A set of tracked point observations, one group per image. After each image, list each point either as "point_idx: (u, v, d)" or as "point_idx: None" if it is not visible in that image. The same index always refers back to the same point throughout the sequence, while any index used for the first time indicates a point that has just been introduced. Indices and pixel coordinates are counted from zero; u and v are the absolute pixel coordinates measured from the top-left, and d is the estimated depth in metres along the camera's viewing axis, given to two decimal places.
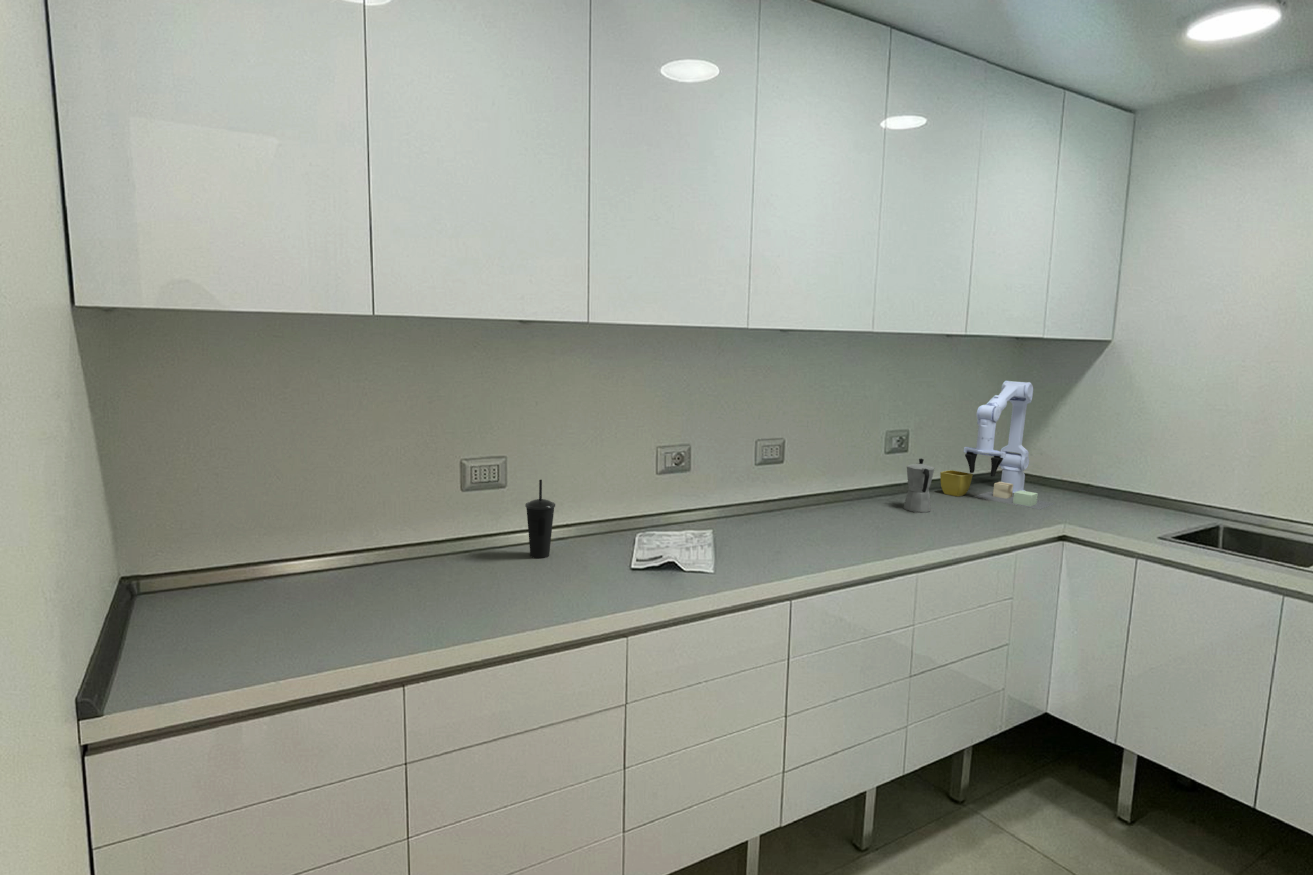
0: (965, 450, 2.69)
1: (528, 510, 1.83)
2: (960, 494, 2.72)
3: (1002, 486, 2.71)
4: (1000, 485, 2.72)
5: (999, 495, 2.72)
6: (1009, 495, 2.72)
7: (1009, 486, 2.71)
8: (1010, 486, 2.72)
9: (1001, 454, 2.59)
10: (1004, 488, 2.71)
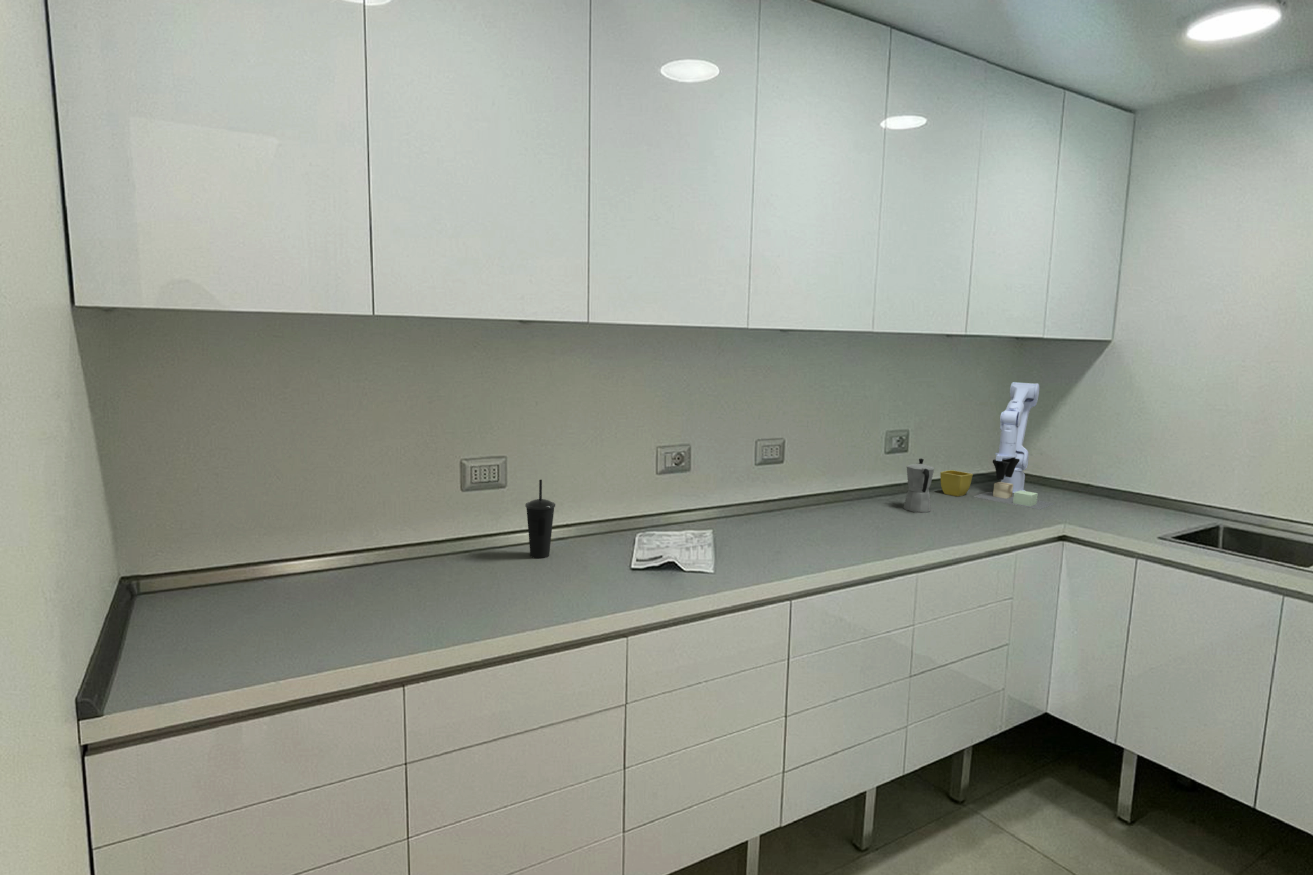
0: None
1: (528, 510, 1.83)
2: (960, 494, 2.72)
3: (1002, 486, 2.71)
4: (1000, 485, 2.72)
5: (999, 495, 2.72)
6: (1009, 495, 2.72)
7: (1009, 486, 2.71)
8: (1010, 486, 2.72)
9: None
10: (1004, 488, 2.71)
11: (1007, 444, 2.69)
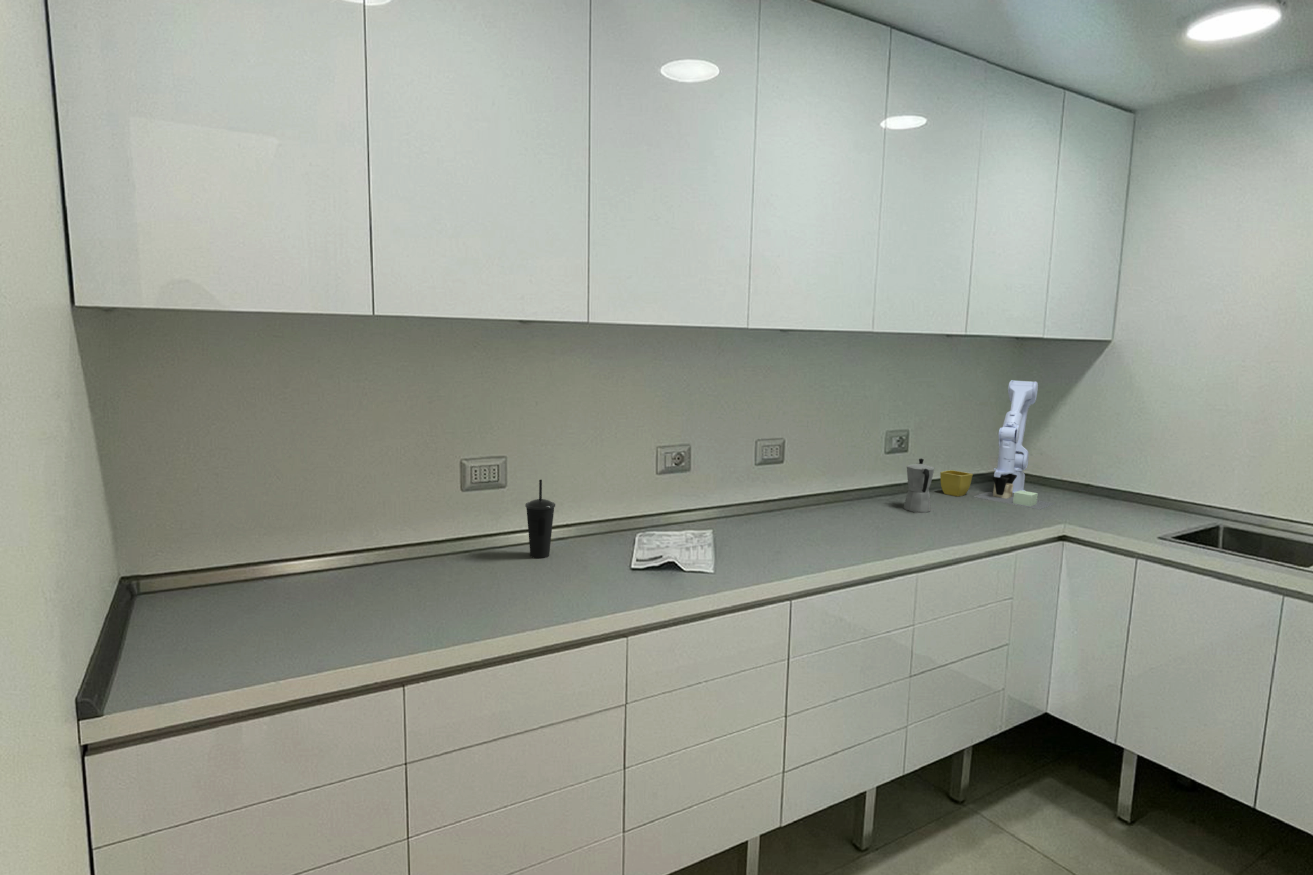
0: None
1: (528, 510, 1.83)
2: (960, 494, 2.72)
3: None
4: None
5: (999, 495, 2.72)
6: (1009, 495, 2.72)
7: (1009, 486, 2.71)
8: (1010, 486, 2.72)
9: None
10: None
11: (1005, 460, 2.69)
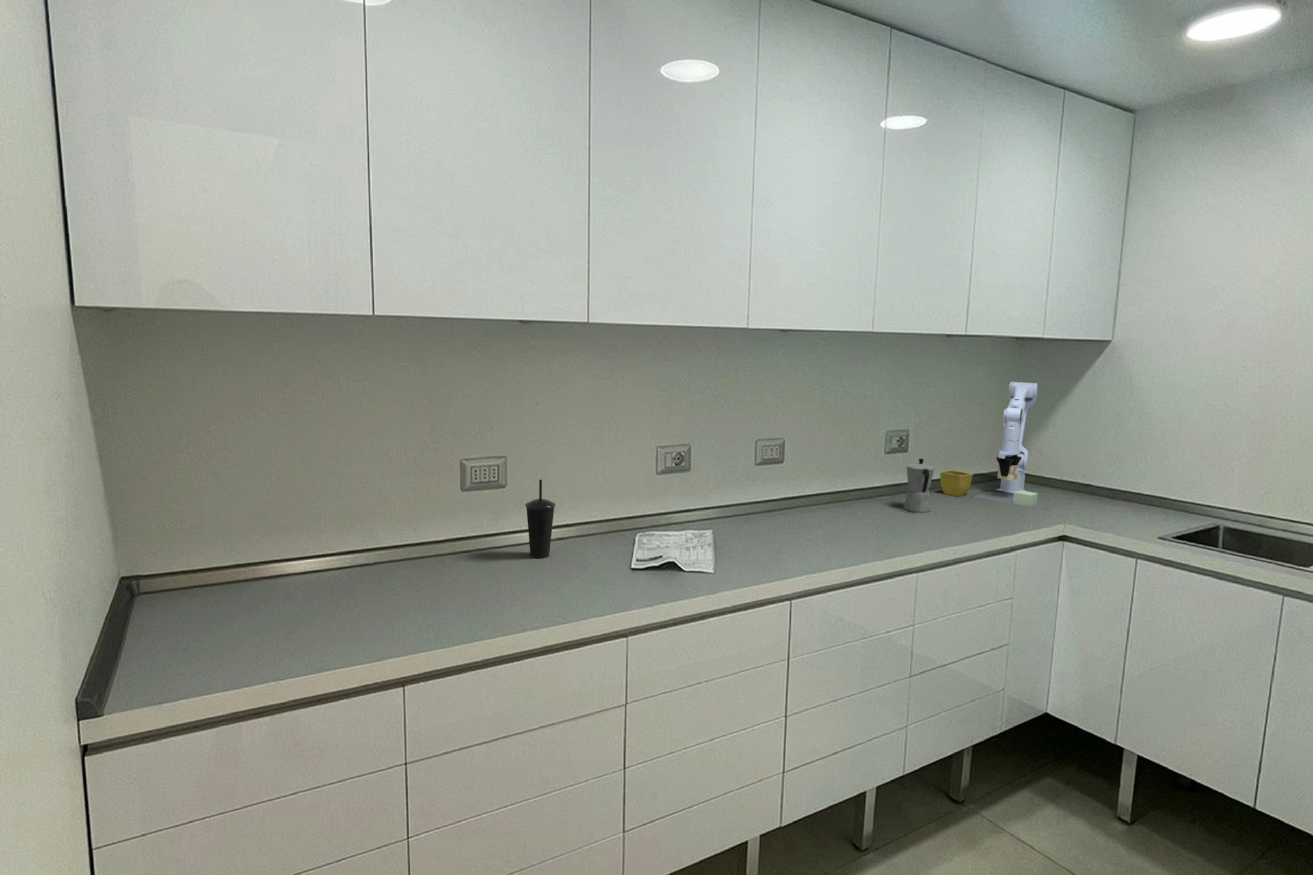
0: None
1: (528, 510, 1.83)
2: (960, 494, 2.72)
3: None
4: None
5: (1003, 477, 2.70)
6: (1014, 477, 2.70)
7: (1014, 468, 2.68)
8: (1015, 468, 2.69)
9: None
10: (1009, 469, 2.68)
11: (1010, 441, 2.67)
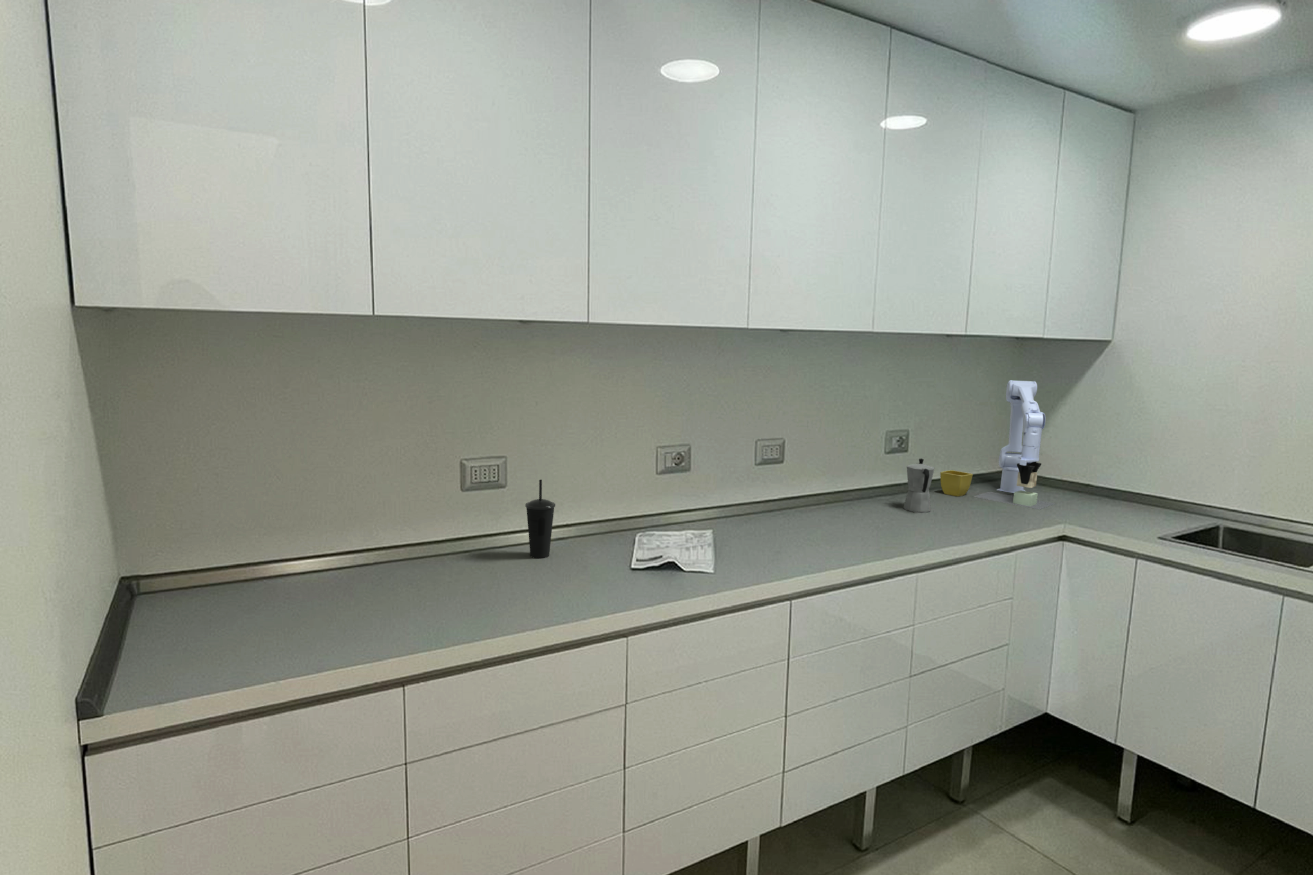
0: None
1: (528, 510, 1.83)
2: (960, 494, 2.72)
3: None
4: None
5: (1023, 484, 2.61)
6: (1033, 484, 2.61)
7: (1034, 475, 2.59)
8: (1034, 475, 2.60)
9: None
10: None
11: (1031, 447, 2.58)
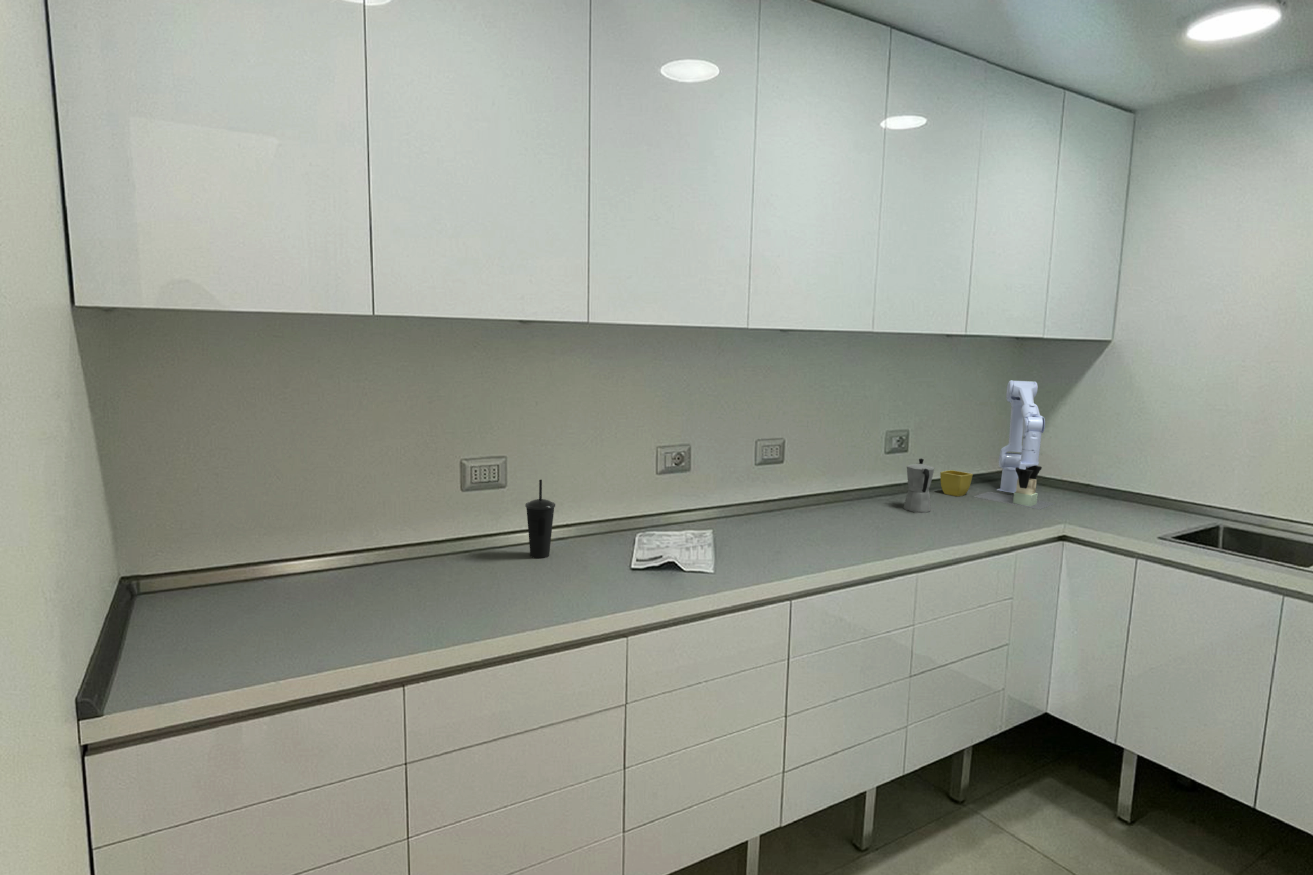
0: None
1: (528, 510, 1.83)
2: (960, 494, 2.72)
3: None
4: None
5: (1022, 491, 2.61)
6: (1033, 491, 2.61)
7: (1033, 482, 2.60)
8: (1034, 482, 2.61)
9: None
10: (1028, 483, 2.60)
11: (1030, 451, 2.58)
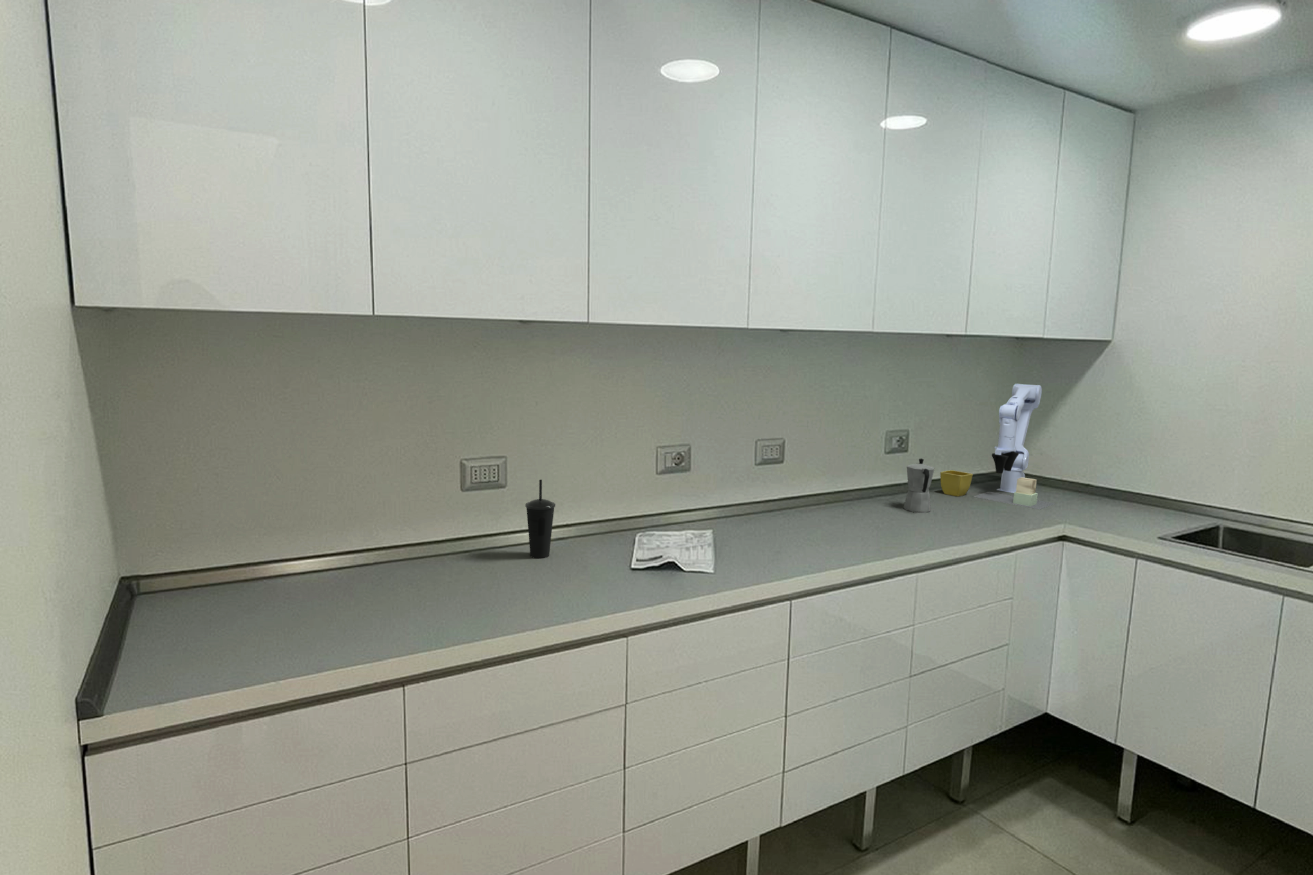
0: None
1: (528, 510, 1.83)
2: (960, 494, 2.72)
3: (1026, 482, 2.60)
4: (1024, 481, 2.61)
5: (1022, 491, 2.61)
6: (1033, 491, 2.61)
7: (1033, 482, 2.60)
8: (1034, 482, 2.61)
9: None
10: (1028, 483, 2.60)
11: (1006, 438, 2.70)
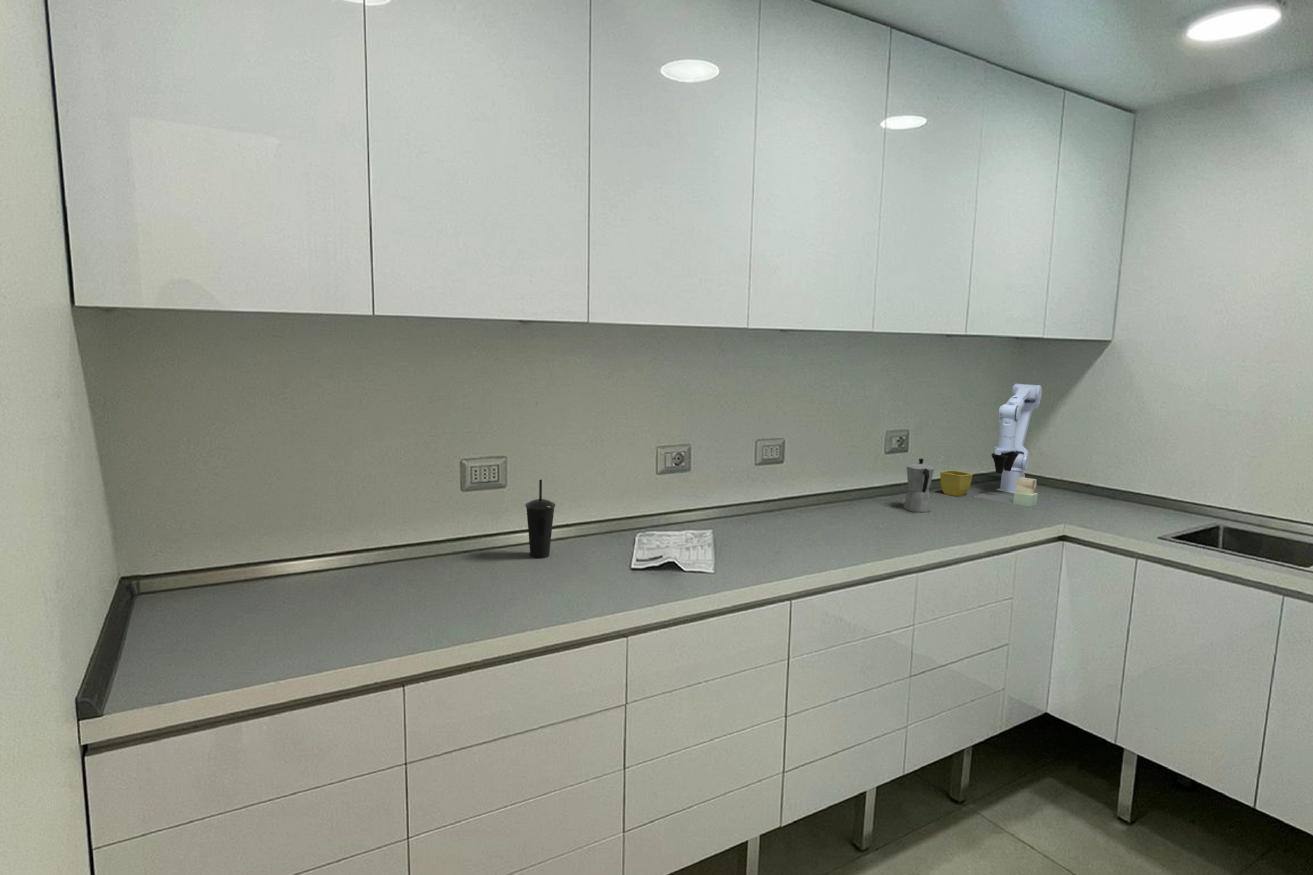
0: None
1: (528, 510, 1.83)
2: (960, 494, 2.72)
3: (1026, 482, 2.60)
4: (1024, 481, 2.61)
5: (1022, 491, 2.61)
6: (1033, 491, 2.61)
7: (1033, 482, 2.60)
8: (1034, 482, 2.61)
9: None
10: (1028, 483, 2.60)
11: (1006, 438, 2.70)
